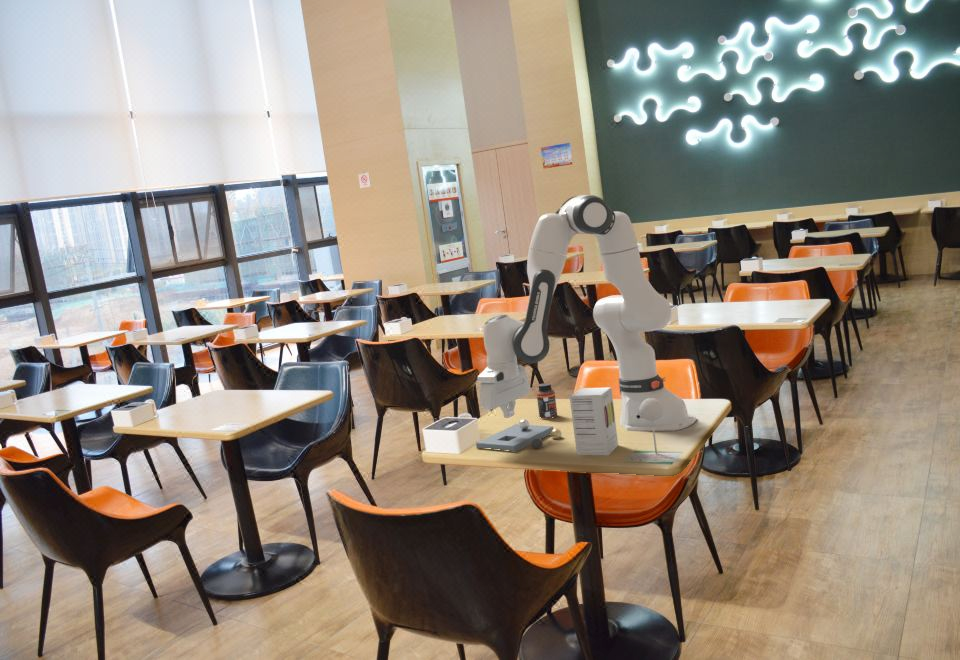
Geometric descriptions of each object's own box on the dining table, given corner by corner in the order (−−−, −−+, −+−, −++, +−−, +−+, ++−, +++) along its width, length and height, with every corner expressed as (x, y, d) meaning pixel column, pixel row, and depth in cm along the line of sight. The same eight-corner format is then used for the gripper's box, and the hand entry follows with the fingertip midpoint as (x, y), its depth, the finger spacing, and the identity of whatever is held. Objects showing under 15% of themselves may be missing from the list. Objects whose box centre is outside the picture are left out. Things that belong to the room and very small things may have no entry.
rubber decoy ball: (545, 448, 227) (544, 437, 227) (539, 451, 224) (537, 440, 224) (536, 447, 229) (534, 436, 229) (530, 451, 227) (528, 440, 226)
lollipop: (640, 457, 207) (634, 401, 205) (649, 450, 212) (643, 395, 210) (663, 458, 203) (657, 401, 202) (671, 451, 208) (665, 395, 206)
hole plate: (516, 431, 249) (515, 424, 249) (554, 434, 240) (553, 426, 240) (477, 451, 234) (475, 442, 234) (515, 454, 225) (514, 446, 225)
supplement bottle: (552, 420, 257) (548, 386, 256) (536, 420, 260) (532, 386, 259) (560, 415, 262) (556, 382, 261) (544, 415, 265) (540, 382, 264)
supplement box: (609, 456, 211) (601, 395, 209) (576, 456, 215) (568, 396, 213) (619, 445, 220) (612, 386, 218) (587, 445, 224) (580, 387, 222)
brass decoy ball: (564, 438, 235) (563, 427, 234) (558, 441, 232) (557, 430, 232) (555, 437, 237) (554, 427, 236) (549, 440, 234) (548, 430, 234)
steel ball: (532, 428, 241) (530, 418, 240) (525, 431, 238) (524, 421, 238) (523, 428, 243) (522, 417, 242) (517, 431, 240) (515, 420, 240)
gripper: (515, 363, 243) (521, 407, 245) (473, 378, 228) (480, 425, 229) (532, 363, 239) (537, 407, 241) (490, 378, 224) (497, 426, 225)
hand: (509, 416), depth 235 cm, fingers closed
